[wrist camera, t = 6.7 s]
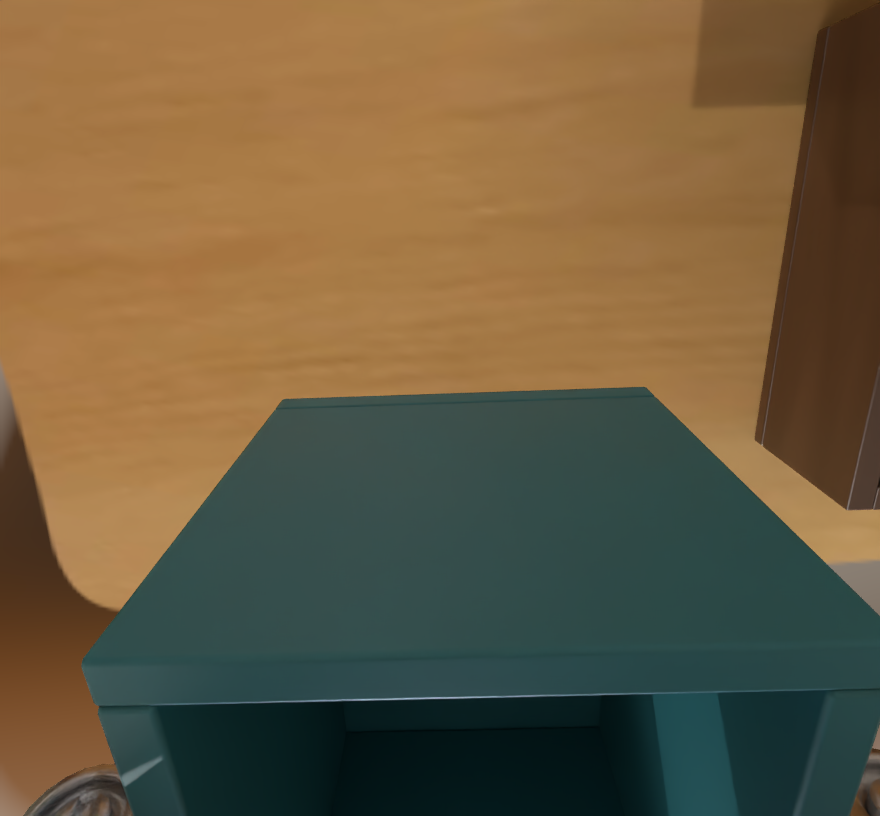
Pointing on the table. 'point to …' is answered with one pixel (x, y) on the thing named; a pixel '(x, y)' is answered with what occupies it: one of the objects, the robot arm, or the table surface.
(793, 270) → the crate
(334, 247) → the table surface
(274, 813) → the box
